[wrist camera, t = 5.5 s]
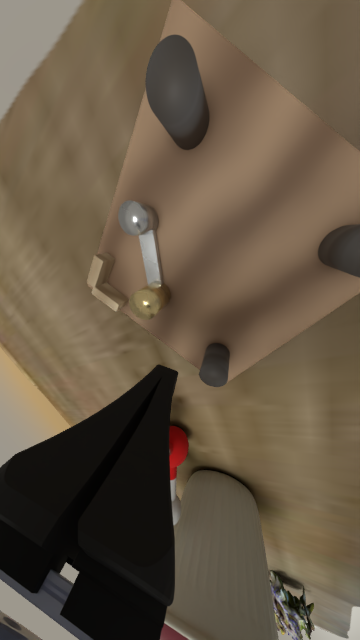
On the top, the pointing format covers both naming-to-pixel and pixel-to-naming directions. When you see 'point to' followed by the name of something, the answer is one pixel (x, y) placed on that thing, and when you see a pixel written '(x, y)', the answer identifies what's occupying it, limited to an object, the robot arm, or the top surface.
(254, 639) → the canister
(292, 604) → the passion flower
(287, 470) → the top surface
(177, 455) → the molecular model
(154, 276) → the metal crank handle
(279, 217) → the wooden board with pegs
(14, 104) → the top surface
